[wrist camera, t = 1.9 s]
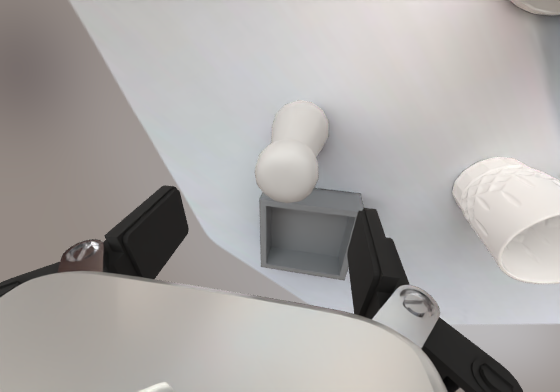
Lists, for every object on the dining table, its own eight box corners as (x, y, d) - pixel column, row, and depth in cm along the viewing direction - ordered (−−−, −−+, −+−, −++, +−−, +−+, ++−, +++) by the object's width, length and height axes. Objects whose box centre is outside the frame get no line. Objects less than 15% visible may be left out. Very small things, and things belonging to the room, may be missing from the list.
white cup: (551, 154, 23) (678, 216, 14) (506, 216, 27) (584, 291, 19) (464, 147, 24) (537, 202, 15) (434, 208, 28) (479, 276, 20)
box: (360, 193, 29) (364, 212, 25) (342, 258, 35) (344, 280, 32) (266, 182, 30) (259, 199, 27) (266, 247, 37) (260, 266, 34)
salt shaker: (328, 148, 26) (329, 219, 16) (279, 150, 27) (249, 217, 17) (328, 93, 23) (330, 134, 12) (273, 97, 24) (231, 139, 14)
